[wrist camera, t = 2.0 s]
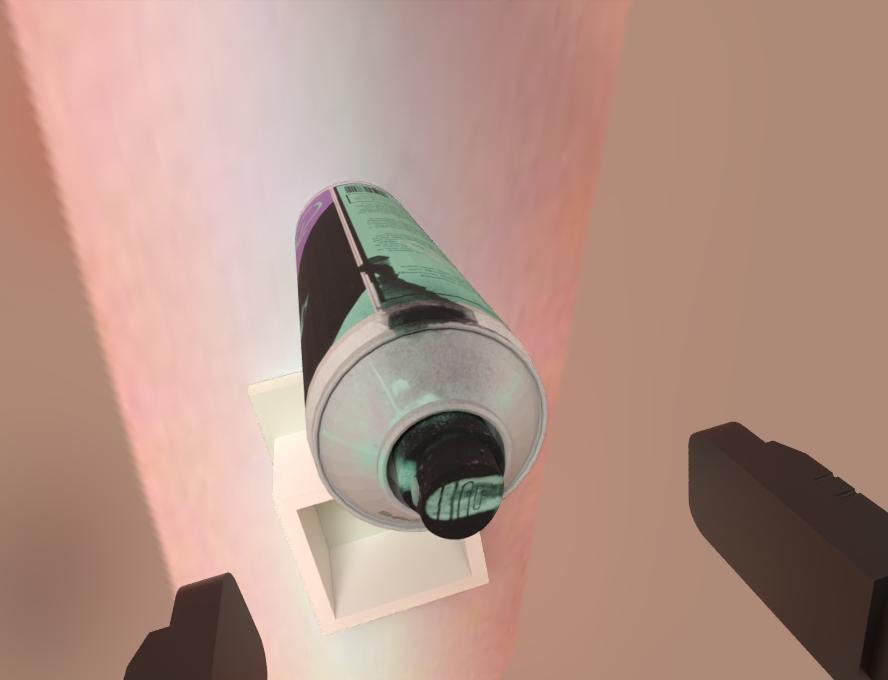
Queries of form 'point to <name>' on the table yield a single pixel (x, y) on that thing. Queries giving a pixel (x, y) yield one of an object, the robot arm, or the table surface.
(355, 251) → the spray can
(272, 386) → the can holder
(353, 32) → the table surface
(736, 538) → the robot arm
